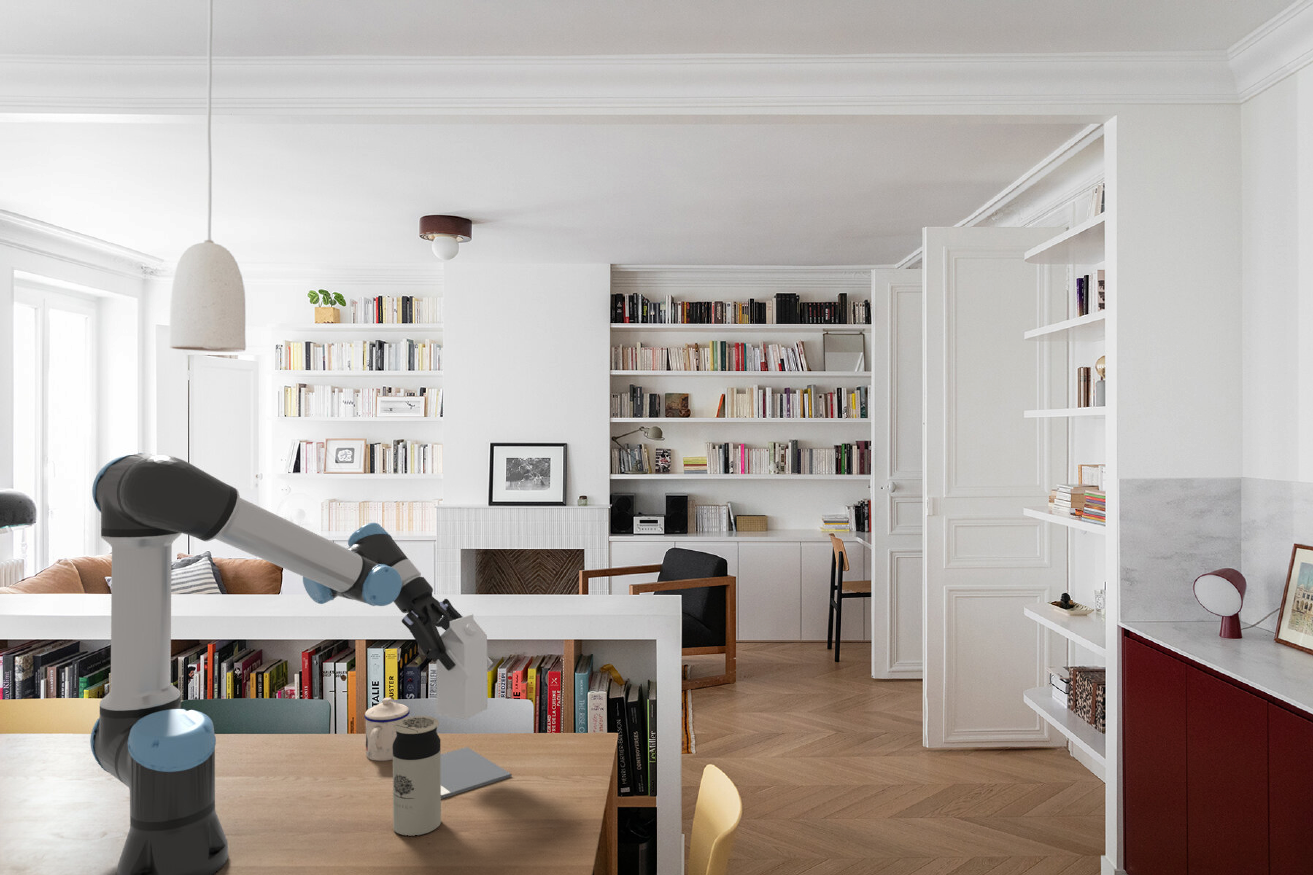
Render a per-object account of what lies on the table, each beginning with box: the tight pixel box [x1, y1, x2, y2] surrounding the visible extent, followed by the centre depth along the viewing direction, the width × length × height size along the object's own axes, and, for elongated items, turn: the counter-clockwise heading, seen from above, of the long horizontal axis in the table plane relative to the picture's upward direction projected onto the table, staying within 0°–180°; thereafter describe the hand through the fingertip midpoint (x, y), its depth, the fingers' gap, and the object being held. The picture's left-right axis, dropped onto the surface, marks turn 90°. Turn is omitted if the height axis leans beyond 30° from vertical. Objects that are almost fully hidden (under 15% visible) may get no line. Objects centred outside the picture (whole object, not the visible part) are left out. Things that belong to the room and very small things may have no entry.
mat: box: [441, 746, 512, 800], centre depth 169 cm, size 18×16×1 cm
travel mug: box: [392, 715, 442, 837], centre depth 147 cm, size 8×8×18 cm
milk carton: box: [436, 613, 488, 721], centre depth 169 cm, size 7×7×19 cm
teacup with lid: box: [364, 697, 411, 762], centre depth 178 cm, size 12×9×12 cm
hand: (476, 673), depth 168 cm, fingers closed on milk carton, 8 cm apart
